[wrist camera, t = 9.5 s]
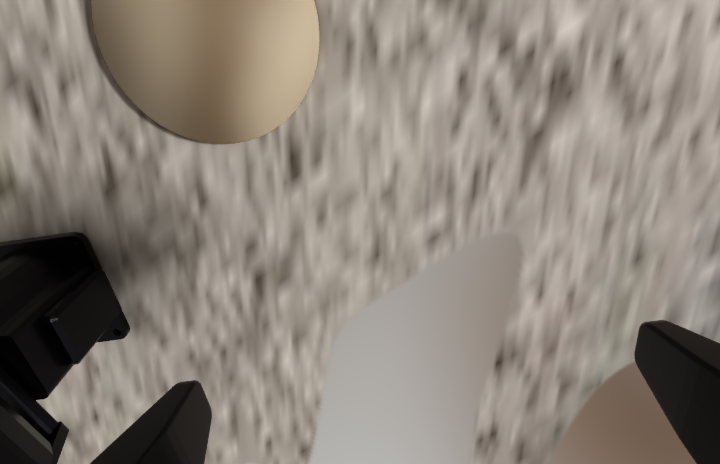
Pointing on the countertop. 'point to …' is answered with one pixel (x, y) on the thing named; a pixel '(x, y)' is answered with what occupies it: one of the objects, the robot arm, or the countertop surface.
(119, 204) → the countertop surface
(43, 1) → the countertop surface
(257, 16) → the cork coaster
